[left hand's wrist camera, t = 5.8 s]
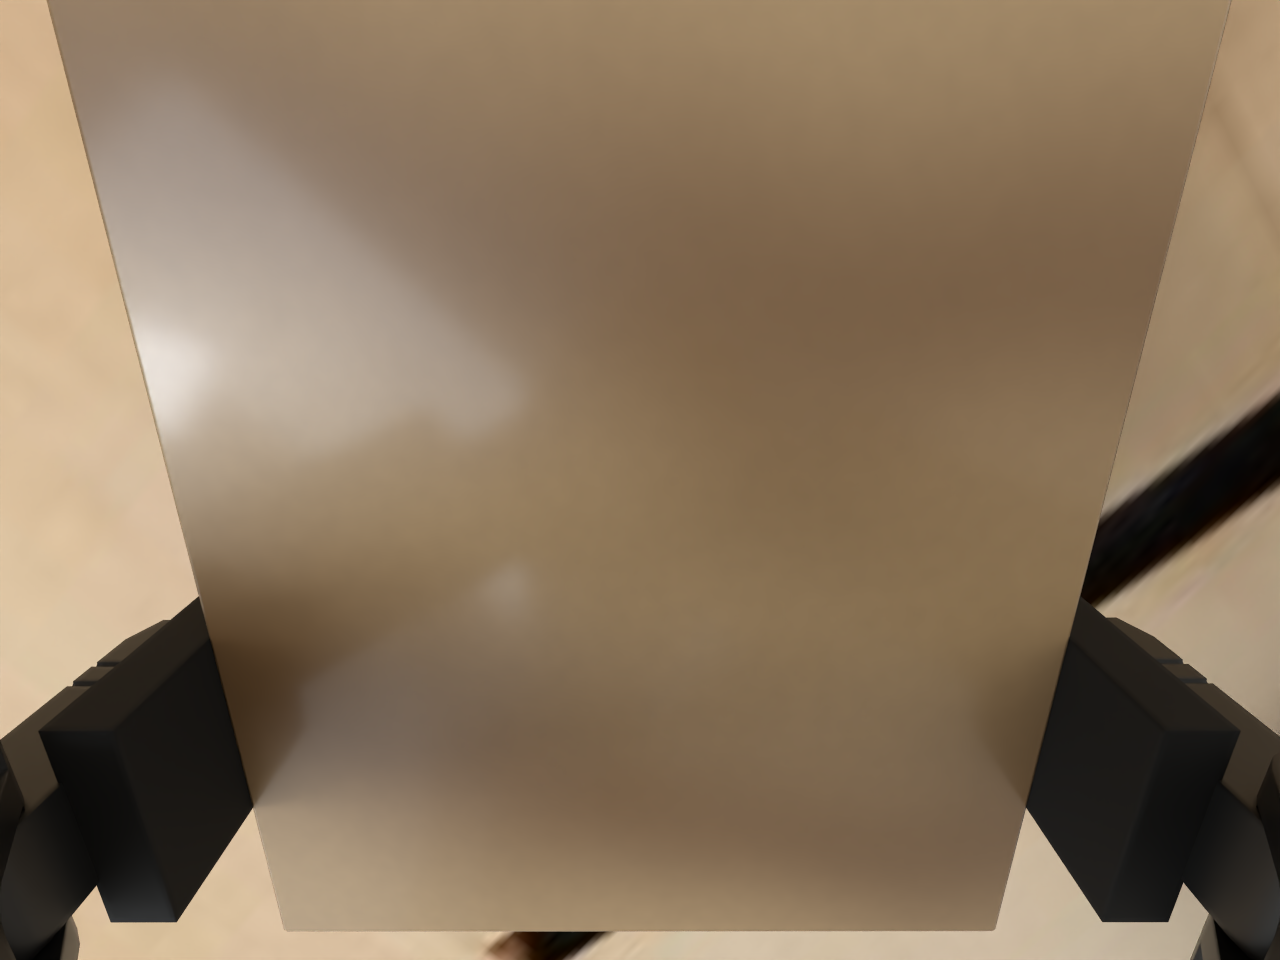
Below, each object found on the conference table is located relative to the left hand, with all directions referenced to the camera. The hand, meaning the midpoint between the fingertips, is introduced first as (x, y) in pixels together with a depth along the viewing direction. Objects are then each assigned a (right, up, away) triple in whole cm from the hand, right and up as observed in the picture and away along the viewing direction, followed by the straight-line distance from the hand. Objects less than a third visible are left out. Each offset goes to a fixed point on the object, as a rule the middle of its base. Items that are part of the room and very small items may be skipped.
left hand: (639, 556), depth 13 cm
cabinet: (0, +8, +3) cm, 8 cm away
